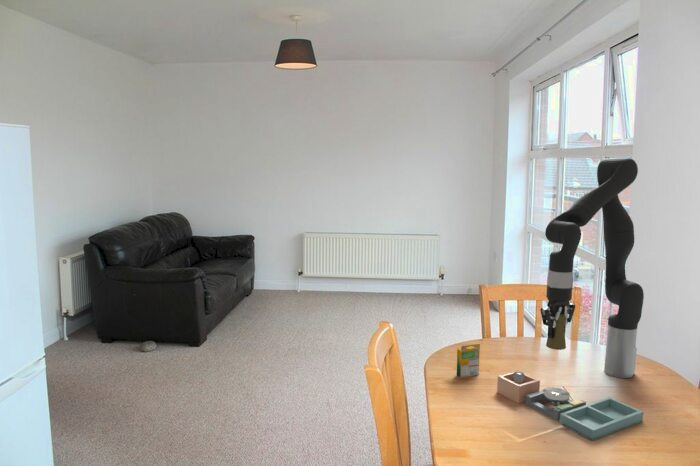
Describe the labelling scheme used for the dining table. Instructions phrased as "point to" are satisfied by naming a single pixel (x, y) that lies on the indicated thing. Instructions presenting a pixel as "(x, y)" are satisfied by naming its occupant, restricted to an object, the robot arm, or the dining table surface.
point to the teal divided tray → (601, 418)
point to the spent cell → (518, 377)
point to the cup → (517, 387)
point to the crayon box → (468, 360)
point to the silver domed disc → (556, 395)
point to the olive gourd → (558, 334)
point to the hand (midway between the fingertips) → (556, 336)
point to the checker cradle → (537, 398)
